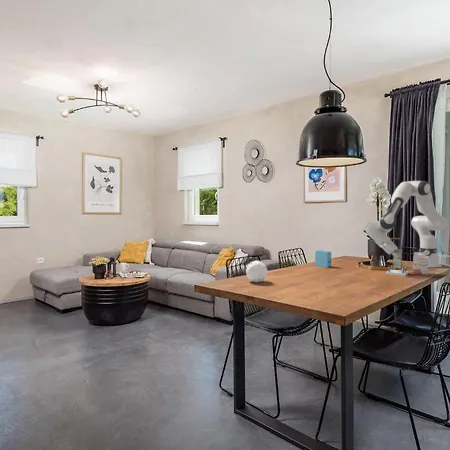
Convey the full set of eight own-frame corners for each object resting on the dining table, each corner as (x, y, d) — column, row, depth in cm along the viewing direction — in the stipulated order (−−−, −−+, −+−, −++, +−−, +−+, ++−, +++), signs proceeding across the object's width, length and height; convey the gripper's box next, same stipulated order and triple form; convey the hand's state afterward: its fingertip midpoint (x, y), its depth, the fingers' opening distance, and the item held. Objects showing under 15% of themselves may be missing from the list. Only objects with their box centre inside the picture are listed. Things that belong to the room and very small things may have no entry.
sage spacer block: (394, 266, 258) (394, 249, 257) (401, 266, 255) (402, 249, 255) (393, 267, 254) (393, 249, 254) (400, 267, 252) (400, 250, 251)
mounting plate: (389, 271, 264) (389, 269, 263) (408, 273, 257) (408, 271, 256) (386, 274, 254) (386, 271, 254) (405, 275, 247) (405, 273, 247)
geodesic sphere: (250, 276, 217) (261, 256, 221) (236, 272, 229) (247, 254, 233) (265, 288, 224) (275, 269, 228) (251, 284, 235) (261, 266, 239)
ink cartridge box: (415, 274, 254) (416, 252, 253) (412, 272, 259) (413, 251, 258) (428, 274, 253) (429, 253, 252) (425, 273, 258) (426, 252, 257)
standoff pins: (391, 269, 262) (391, 265, 262) (406, 271, 256) (406, 266, 256) (388, 271, 254) (388, 267, 254) (403, 273, 248) (404, 268, 248)
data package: (331, 267, 282) (331, 251, 282) (327, 267, 280) (327, 252, 279) (318, 265, 292) (318, 250, 291) (314, 265, 289) (315, 250, 289)
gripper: (384, 239, 249) (399, 255, 244) (390, 237, 266) (404, 252, 261) (376, 246, 252) (391, 261, 247) (383, 243, 269) (397, 258, 264)
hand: (398, 256), depth 254 cm, fingers closed on sage spacer block, 4 cm apart
